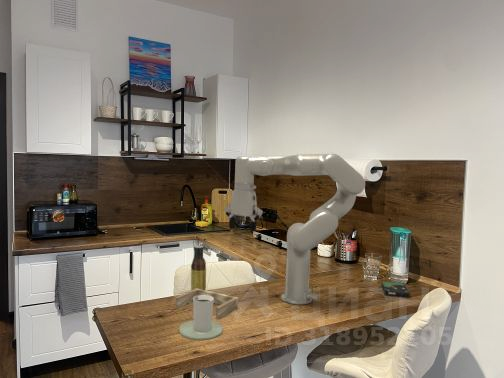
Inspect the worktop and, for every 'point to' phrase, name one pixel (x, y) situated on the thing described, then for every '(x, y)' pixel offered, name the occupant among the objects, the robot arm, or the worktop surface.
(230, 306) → the frame
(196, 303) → the white coffee cup
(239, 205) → the robot arm
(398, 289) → the disk drive
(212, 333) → the disc
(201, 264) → the sauce bottle
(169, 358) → the worktop surface
